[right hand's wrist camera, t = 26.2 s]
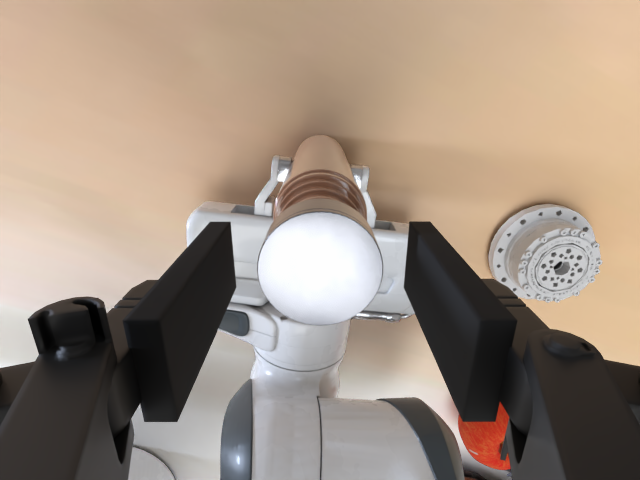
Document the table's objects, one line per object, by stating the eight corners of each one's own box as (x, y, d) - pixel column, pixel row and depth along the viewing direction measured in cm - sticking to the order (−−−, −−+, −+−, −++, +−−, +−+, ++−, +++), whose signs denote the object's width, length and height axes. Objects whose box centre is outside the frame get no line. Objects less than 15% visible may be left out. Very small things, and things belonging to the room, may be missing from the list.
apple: (454, 434, 48) (479, 496, 40) (444, 385, 45) (469, 443, 37) (518, 421, 47) (555, 483, 39) (512, 370, 44) (551, 426, 37)
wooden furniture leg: (327, 124, 34) (340, 172, 12) (354, 167, 36) (408, 278, 14) (285, 153, 35) (228, 245, 13) (313, 194, 37) (303, 338, 15)
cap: (255, 204, 14) (246, 218, 12) (373, 192, 14) (380, 204, 12) (272, 306, 15) (267, 331, 14) (379, 296, 15) (386, 320, 14)
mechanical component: (475, 287, 40) (565, 297, 41) (493, 309, 36) (593, 320, 36) (503, 197, 37) (601, 209, 37) (526, 210, 32) (636, 223, 33)
